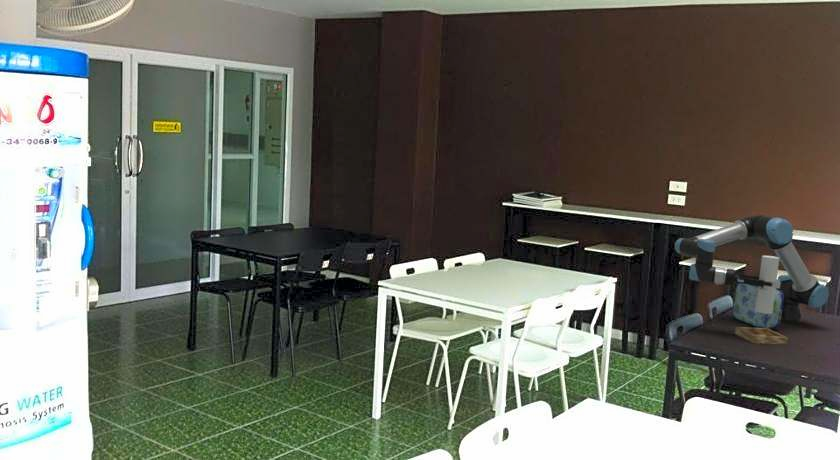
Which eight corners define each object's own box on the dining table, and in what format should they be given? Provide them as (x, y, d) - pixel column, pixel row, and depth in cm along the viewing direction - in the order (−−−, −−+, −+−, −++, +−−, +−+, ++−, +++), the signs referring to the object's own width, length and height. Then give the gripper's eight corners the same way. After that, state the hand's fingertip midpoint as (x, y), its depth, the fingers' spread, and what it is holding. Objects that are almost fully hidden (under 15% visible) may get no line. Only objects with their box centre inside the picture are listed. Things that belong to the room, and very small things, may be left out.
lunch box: (783, 331, 387) (789, 288, 385) (764, 331, 384) (770, 287, 382) (747, 318, 412) (752, 277, 409) (729, 317, 409) (734, 276, 406)
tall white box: (773, 314, 362) (780, 258, 359) (756, 312, 364) (763, 257, 361) (770, 311, 369) (777, 256, 366) (754, 309, 371) (760, 254, 368)
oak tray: (767, 335, 377) (768, 328, 377) (786, 344, 361) (787, 337, 361) (734, 333, 375) (735, 326, 375) (752, 343, 359) (753, 336, 359)
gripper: (724, 281, 381) (778, 288, 373) (723, 288, 363) (779, 296, 354) (727, 265, 380) (780, 272, 372) (725, 271, 362) (781, 278, 353)
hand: (779, 284), depth 363 cm, fingers closed on tall white box, 7 cm apart
